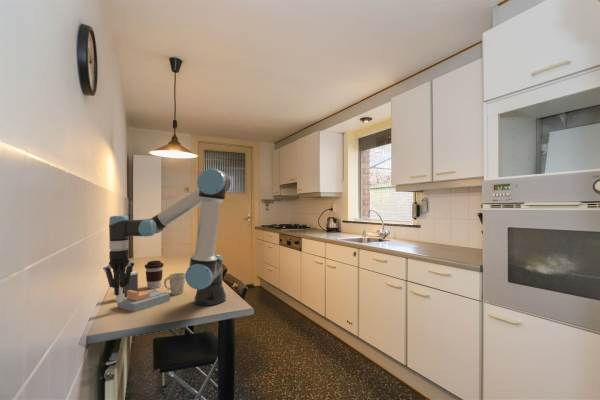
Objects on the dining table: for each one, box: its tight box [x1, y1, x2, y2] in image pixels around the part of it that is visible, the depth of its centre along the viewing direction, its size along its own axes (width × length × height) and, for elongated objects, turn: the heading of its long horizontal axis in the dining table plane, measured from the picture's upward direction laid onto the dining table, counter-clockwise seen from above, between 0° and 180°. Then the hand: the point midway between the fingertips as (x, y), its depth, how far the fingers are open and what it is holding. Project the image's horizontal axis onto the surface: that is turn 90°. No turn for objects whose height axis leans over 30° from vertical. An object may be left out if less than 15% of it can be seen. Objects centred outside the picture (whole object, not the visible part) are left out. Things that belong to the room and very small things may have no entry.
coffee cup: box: [144, 260, 164, 290], centre depth 180 cm, size 10×10×15 cm
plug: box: [124, 266, 139, 298], centre depth 161 cm, size 5×5×16 cm
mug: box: [163, 272, 186, 296], centre depth 168 cm, size 8×13×10 cm, turn 78°
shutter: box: [127, 290, 150, 301], centre depth 148 cm, size 7×7×4 cm
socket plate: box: [117, 288, 171, 313], centre depth 150 cm, size 14×18×4 cm
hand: (119, 301), depth 140 cm, fingers closed
